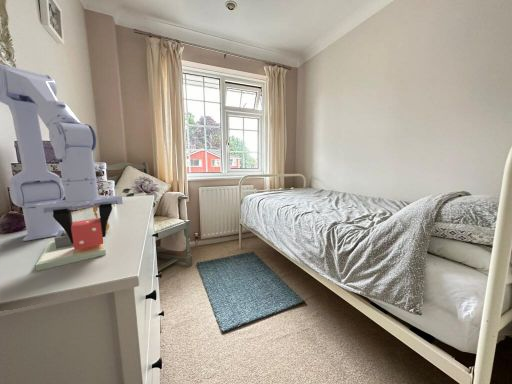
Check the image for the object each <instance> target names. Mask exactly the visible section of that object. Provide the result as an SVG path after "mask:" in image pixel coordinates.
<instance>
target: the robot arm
mask: <svg viewBox="0 0 512 384" xmlns="http://www.w3.org/2000/svg"><path fill="white" fill-rule="evenodd" d="M57 91H58V89H57V84H56V81H55V80H54V78H53V77H52V76H51V75H48V74H42V73H38V72H34V71H30V70H25V69H22V68H18V67H14V66H10V65H5V64H2V63H1V62H0V103H2V104H4V105H6V106H8V108H9V110H10V113H11V116H12V122H13V127H14V131H15V137H16V141H17V147H18V153H19V157H20V162H21V168H22V170H20V171H19V172H18V173H16V174H13V176H11V177H10V179H9V180H8V183H9V196H10V199H11V202H12V204H13V205H15V206H17V207H20V208H22V211H23V212H22V214H23V217H24V219H23V220H24V223H25V224H24V225H25V229H26V235H25V236H24V237H23V238H22V241H23V242H26V241H27V242H28V241H31V240H32V241H34V240H40V239H45V238H51V237H56V235H57V233H58V232H59V231H60V230H65V231H66V233H67V235H68V236H69V238H70V241H71V243H73V237H72V231H71V226H72V223H73V222H74V221H73V215H72V210H80V209H81V208H82V209H87V208H88V209H89V208H93V207H97V206H99V208H98V212H99V218H100V220H101V229H102V236H103V237H104V238H106V235H107V234H106V233H107V231H106V226H107V222H108V223H109V219H110V216H111V213H112V211H113V206H114V204H115V205H123V204H124V201H123V196H122V195H119V194H118V195H106V196H104V195H102V196H103V197H99V195H100V194H99V190H98V189H99V188H98V181H97V175H96V174H97V173H96V167H95V160H94V159H95V158H94V153H93V152H94V151H95V149H96V148H97V143H98V139H97V134H96V131H95V129H94V127H93V125H91V124H89V123H88V124H87V123H85V122H81V121H80V119H78V117H77V116H76V114H75V113H74V112H73V110H71V108H70V106H68V105H67V104H66V103H65V102H64V101H59V100H58V98H57V95H58V94H57V93H58V92H57ZM39 118H40V119H39ZM40 120H41V121H42V123H43V124H44V125H45V127H46V128H47V129H48V138H49V142H50V145H51V146H52V148H53V152H54V156H55V158H56V159H57V160H58V163H59V169H60V173H61V174H60V176H59V175H58V174H56V173H54V172H51V171H50V170H48V166H47V165H48V164H47V161H46V159H47V158H46V155H45V149H44V148H45V147H44V143H43V138H42V131H41V125H40ZM98 194H99V195H98ZM82 205H84V206H82Z"/></svg>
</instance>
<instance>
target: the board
mask: <svg viewBox="0 0 512 384" xmlns="http://www.w3.org/2000/svg"><path fill="white" fill-rule="evenodd" d="M105 238H106V237H103V244H100V245H95V246H90V247H85V248H81V249H76V250H75V249H74V245H72V246H67V247H62V248H57V249H56V244H55V239H53V240H50V241H49V242H48V244H47V246H46V247H45V249H44V250H43V252H42V254H41V256H40V257H39V259H38V261H37V262H36V264H35V268H36V272H38V271H42V270H47V269H50V268H54V267H55V268H56V267H59V266H63V265H67V264H72V263H76V262H80V261H81V262H82V261H85V260H89V259H94V258H96V257H97V258H98V257H101V256H106V255H107V253H106V241H105Z"/></svg>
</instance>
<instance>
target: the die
mask: <svg viewBox="0 0 512 384" xmlns="http://www.w3.org/2000/svg"><path fill="white" fill-rule="evenodd" d="M72 222H73V223H72V226H71V231H72V237H73V243H74V249H75V250H76V249H81V248H85V247H90V246H95V245H100V244H103V236H102V229H101V220H100V217H98V218H96V217H95V218H89V219H84V220H83V219H82V220H75V221H72Z"/></svg>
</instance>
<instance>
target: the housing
mask: <svg viewBox="0 0 512 384" xmlns="http://www.w3.org/2000/svg"><path fill="white" fill-rule="evenodd" d="M54 240H55V244H56V249H57V248H62V247H67V246H72V245H74V243H71V241H70V238H69V236H68V235H67V236H64V230H60V231H59V232H58V233H57V235H56V236H54Z"/></svg>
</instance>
